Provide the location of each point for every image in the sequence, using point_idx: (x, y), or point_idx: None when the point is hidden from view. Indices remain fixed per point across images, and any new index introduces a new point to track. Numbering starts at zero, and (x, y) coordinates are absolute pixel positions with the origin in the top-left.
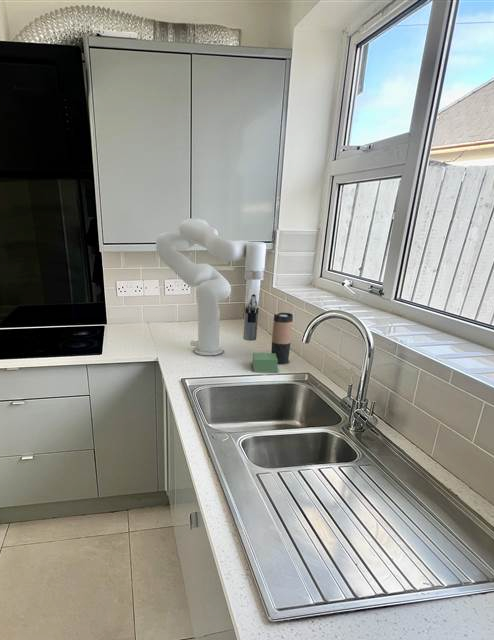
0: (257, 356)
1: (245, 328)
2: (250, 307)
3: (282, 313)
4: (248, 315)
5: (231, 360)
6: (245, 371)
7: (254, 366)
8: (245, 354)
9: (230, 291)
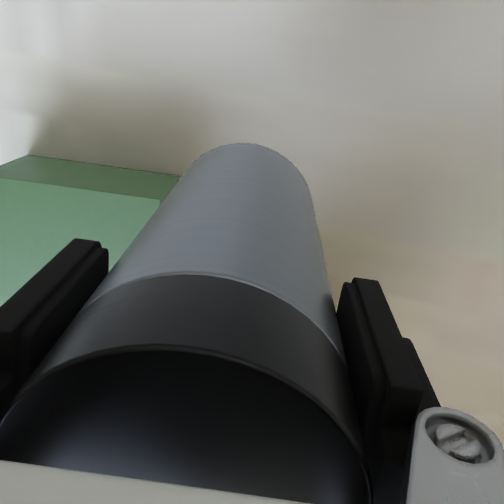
0: (64, 213)
1: (181, 186)
2: (217, 486)
3: None
4: (16, 303)
5: (272, 24)
6: (27, 96)
7: (8, 164)
8: (407, 166)
9: None
